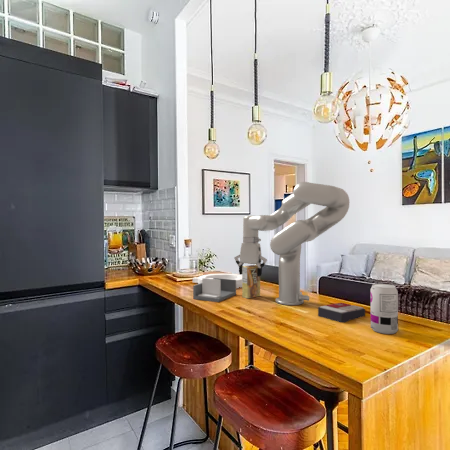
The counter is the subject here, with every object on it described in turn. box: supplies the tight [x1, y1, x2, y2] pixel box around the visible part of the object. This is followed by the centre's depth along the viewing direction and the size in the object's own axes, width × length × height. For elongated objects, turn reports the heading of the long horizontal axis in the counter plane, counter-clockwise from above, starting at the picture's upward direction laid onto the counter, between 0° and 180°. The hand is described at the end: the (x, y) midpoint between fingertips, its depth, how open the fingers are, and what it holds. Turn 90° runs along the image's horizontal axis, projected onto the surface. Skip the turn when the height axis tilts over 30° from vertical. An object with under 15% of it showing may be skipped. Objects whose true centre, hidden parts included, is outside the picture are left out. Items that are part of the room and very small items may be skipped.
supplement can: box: [369, 283, 399, 335], centre depth 107 cm, size 8×8×15 cm
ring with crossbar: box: [192, 273, 242, 289], centre depth 191 cm, size 28×28×5 cm
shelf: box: [192, 278, 237, 303], centre depth 159 cm, size 14×18×10 cm
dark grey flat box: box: [317, 302, 366, 324], centre depth 125 cm, size 11×4×15 cm
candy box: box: [241, 264, 261, 299], centre depth 158 cm, size 9×4×15 cm, turn 129°
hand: (250, 275), depth 159 cm, fingers open, 9 cm apart
